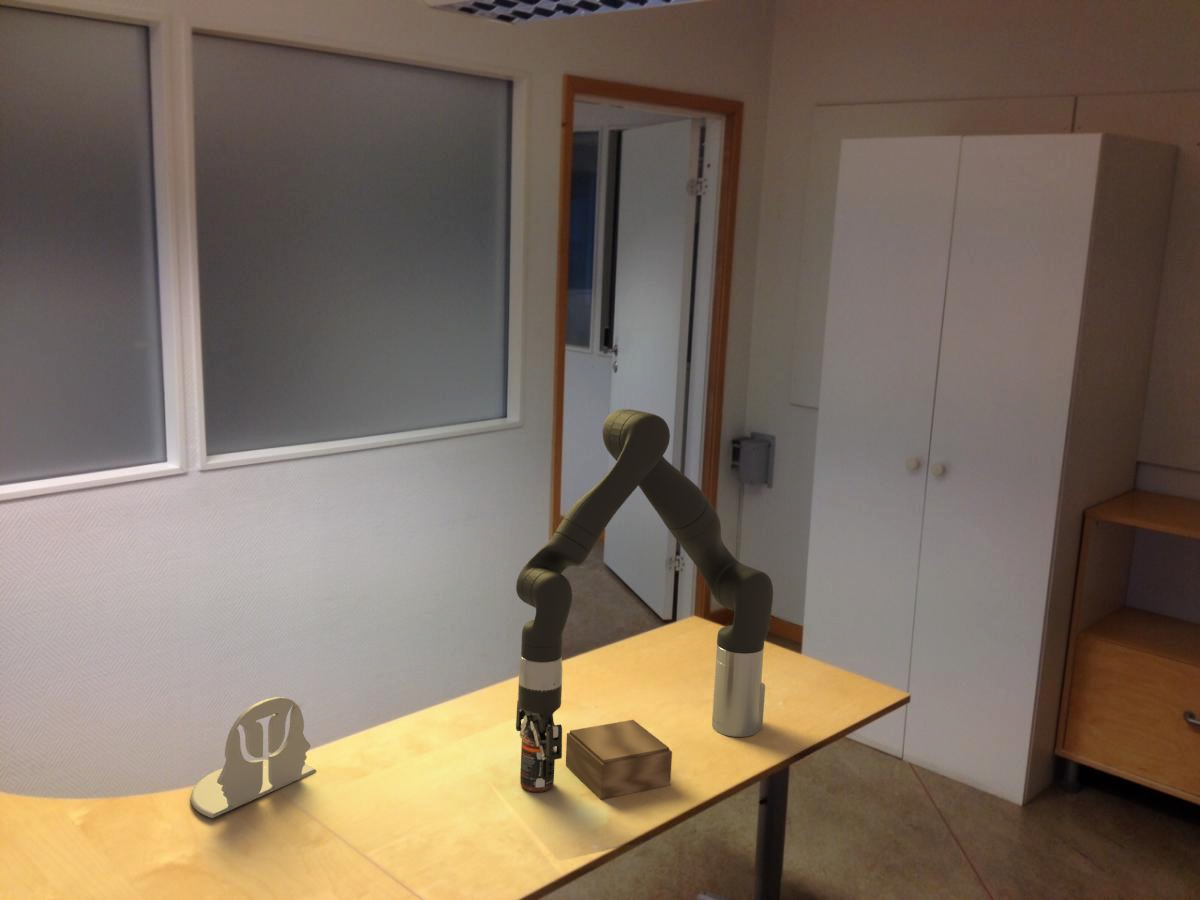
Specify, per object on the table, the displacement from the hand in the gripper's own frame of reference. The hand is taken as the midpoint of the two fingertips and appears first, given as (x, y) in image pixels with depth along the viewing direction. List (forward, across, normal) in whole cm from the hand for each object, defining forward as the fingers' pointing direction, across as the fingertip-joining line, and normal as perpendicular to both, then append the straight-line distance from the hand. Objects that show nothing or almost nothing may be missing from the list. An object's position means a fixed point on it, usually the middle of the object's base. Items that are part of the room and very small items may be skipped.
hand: (537, 768), depth 195 cm
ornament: (+4, +21, +46) cm, 51 cm away
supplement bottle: (+4, 0, 0) cm, 4 cm away
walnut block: (+3, -2, -15) cm, 16 cm away
